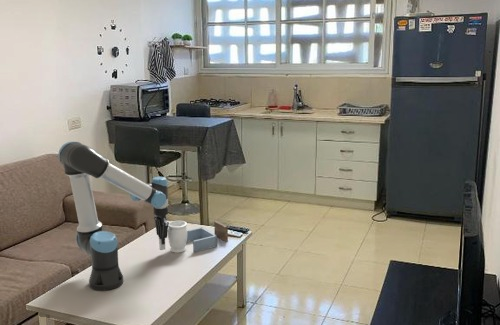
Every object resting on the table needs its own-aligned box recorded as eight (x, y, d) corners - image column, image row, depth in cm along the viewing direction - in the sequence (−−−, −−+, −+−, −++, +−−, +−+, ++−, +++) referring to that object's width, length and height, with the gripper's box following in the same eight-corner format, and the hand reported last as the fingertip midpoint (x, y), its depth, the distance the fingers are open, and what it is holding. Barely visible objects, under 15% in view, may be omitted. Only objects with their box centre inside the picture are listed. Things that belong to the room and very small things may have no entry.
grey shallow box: (194, 252, 259) (194, 241, 257) (180, 242, 272) (179, 232, 270) (217, 246, 267) (217, 235, 265) (202, 237, 280) (202, 227, 278)
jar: (186, 254, 257) (185, 227, 253) (166, 253, 257) (165, 226, 254) (189, 246, 267) (188, 220, 264) (170, 245, 267) (169, 220, 264)
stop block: (224, 242, 273) (224, 226, 271) (214, 236, 282) (214, 221, 280) (227, 241, 274) (227, 226, 272) (217, 235, 283) (217, 220, 281)
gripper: (173, 208, 248) (174, 251, 253) (161, 202, 258) (163, 243, 264) (159, 211, 244) (161, 255, 249) (148, 204, 254) (150, 246, 259)
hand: (162, 249), depth 256 cm, fingers closed
